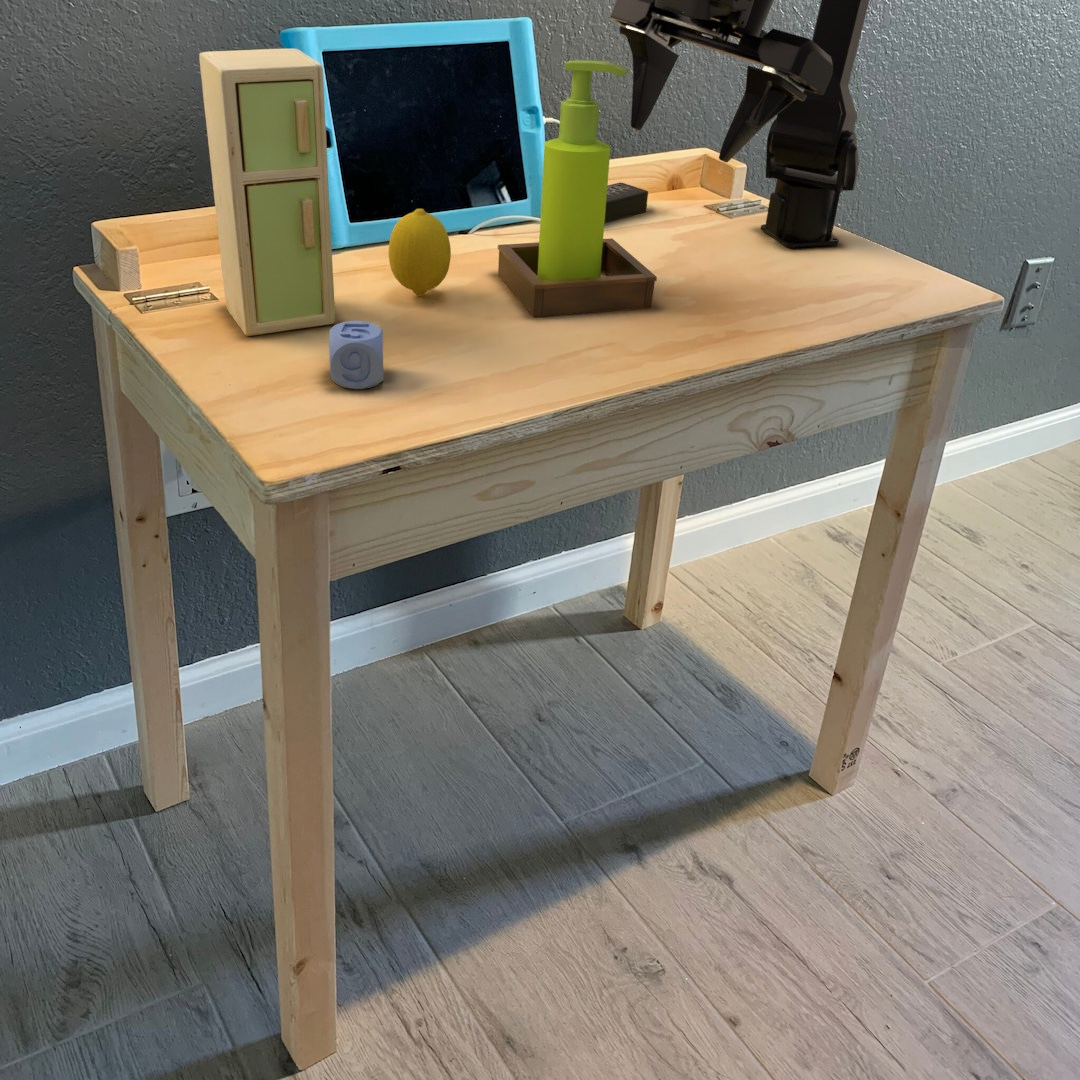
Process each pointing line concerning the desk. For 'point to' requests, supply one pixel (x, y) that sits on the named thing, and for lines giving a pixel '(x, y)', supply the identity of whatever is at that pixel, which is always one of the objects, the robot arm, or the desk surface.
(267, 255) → the toy refrigerator
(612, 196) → the multiport hub
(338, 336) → the decorative dice
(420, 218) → the lemon
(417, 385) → the desk surface
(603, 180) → the soap dispenser
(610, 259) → the brown wooden tray
